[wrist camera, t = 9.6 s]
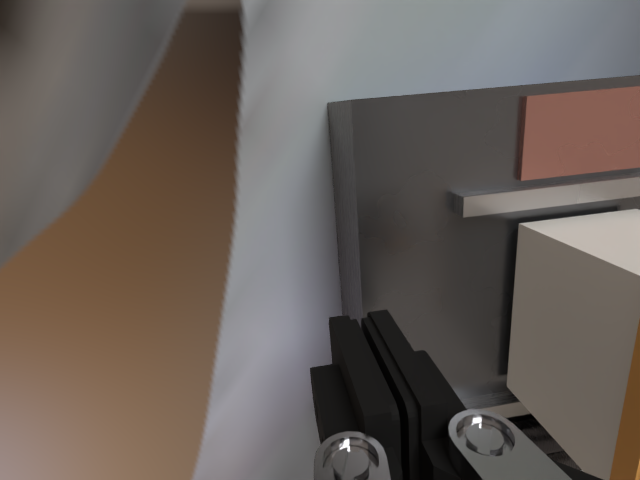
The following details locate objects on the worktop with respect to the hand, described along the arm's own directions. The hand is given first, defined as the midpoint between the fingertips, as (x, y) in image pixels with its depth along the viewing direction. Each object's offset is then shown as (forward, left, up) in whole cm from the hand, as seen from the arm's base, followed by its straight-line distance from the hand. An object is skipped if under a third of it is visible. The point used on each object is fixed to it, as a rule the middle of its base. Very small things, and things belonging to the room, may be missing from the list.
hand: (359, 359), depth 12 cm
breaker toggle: (-7, 0, -1) cm, 8 cm away
